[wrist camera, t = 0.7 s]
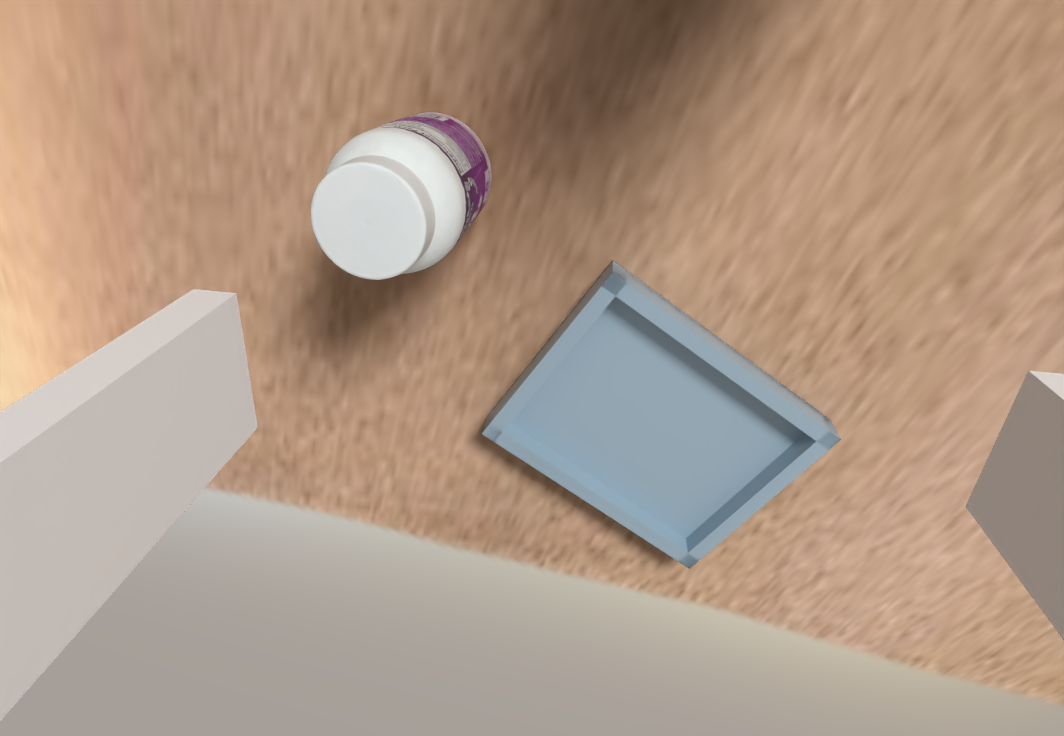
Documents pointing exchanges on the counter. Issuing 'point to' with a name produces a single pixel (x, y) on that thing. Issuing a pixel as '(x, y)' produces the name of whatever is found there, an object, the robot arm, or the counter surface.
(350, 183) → the pill bottle
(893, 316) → the counter surface
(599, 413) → the tray
